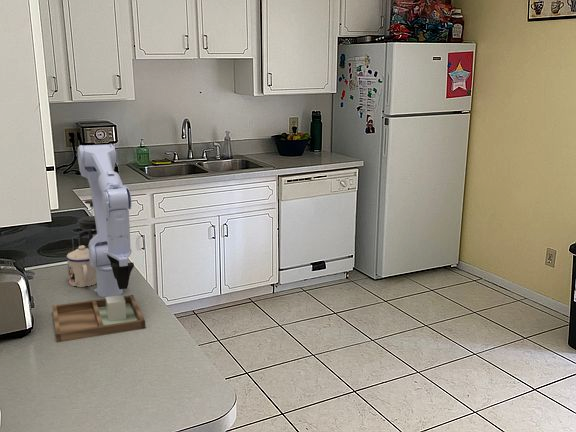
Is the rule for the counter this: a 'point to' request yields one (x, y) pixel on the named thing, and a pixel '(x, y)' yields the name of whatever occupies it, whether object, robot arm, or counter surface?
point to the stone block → (115, 308)
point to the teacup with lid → (80, 268)
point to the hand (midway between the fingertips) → (120, 283)
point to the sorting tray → (94, 319)
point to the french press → (86, 226)
